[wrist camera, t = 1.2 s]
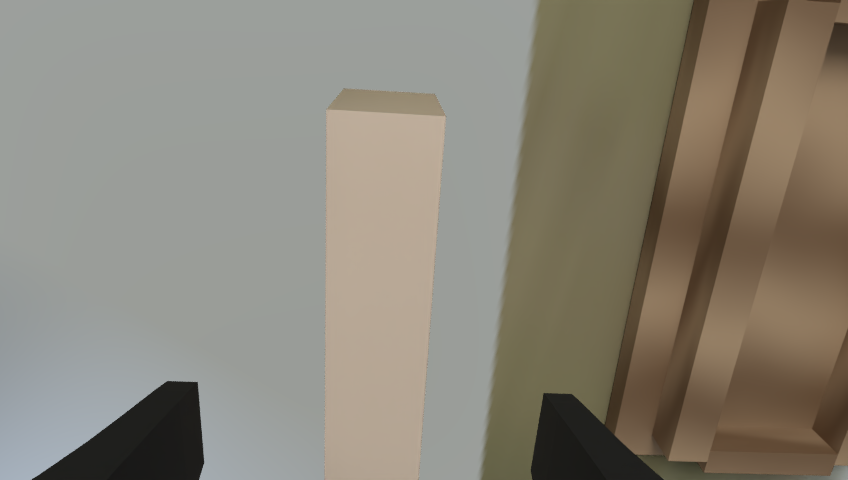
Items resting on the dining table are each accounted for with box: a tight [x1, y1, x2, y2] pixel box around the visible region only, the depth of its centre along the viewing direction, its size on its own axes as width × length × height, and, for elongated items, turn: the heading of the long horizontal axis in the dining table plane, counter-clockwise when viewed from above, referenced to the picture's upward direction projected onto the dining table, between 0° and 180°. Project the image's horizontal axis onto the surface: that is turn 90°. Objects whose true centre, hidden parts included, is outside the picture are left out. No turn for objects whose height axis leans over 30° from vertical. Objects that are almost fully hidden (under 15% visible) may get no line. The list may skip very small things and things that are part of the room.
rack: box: [605, 0, 848, 476], centre depth 20 cm, size 18×11×2 cm, turn 176°
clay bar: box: [325, 88, 446, 480], centre depth 19 cm, size 12×3×5 cm, turn 176°
